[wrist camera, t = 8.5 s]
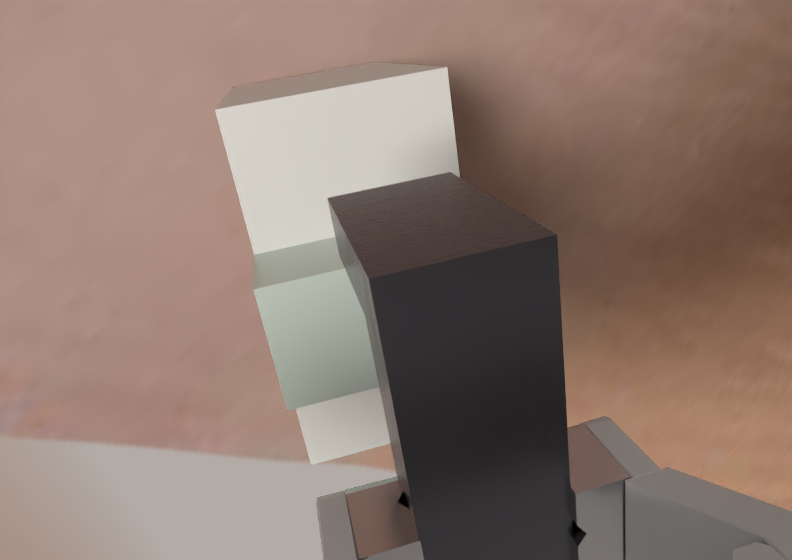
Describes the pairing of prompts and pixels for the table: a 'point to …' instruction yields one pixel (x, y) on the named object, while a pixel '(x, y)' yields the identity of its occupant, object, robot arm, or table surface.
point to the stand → (327, 223)
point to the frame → (465, 363)
